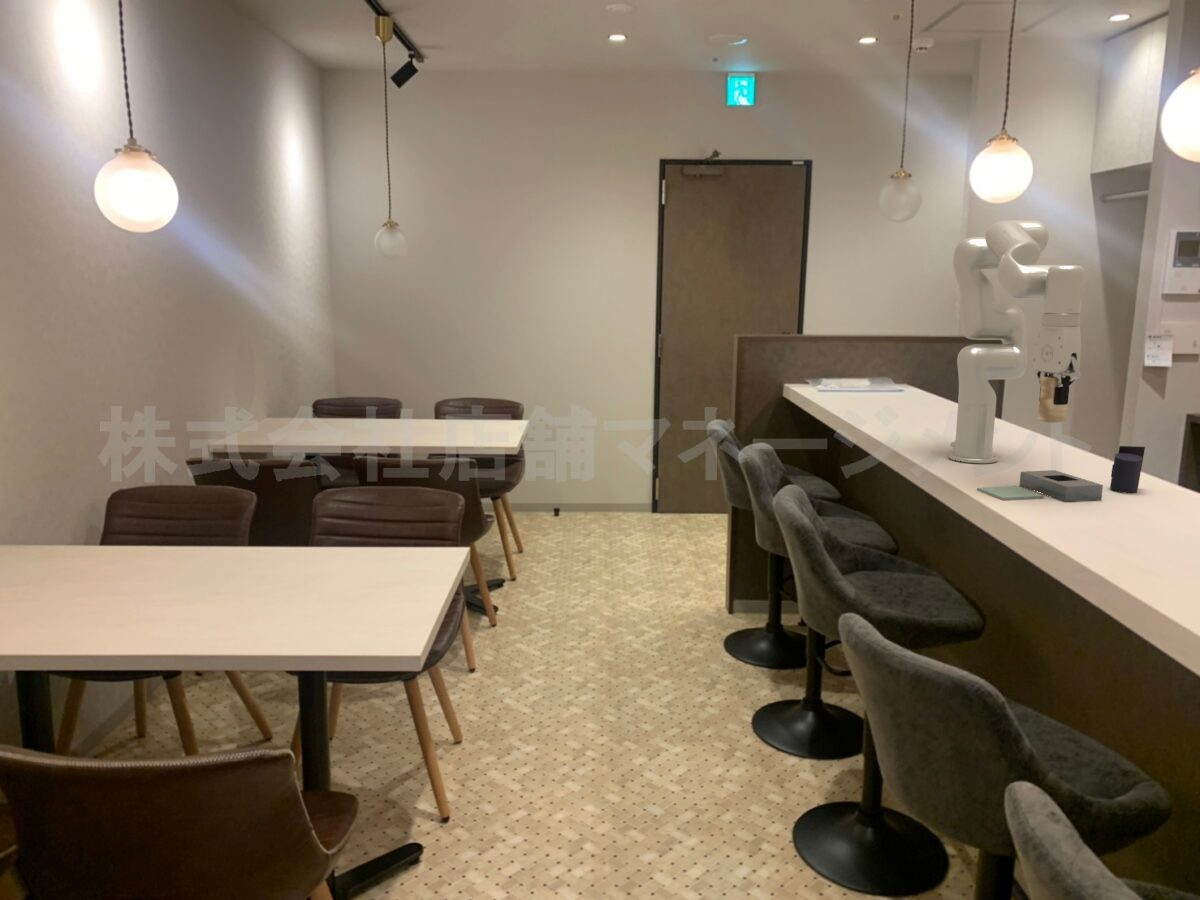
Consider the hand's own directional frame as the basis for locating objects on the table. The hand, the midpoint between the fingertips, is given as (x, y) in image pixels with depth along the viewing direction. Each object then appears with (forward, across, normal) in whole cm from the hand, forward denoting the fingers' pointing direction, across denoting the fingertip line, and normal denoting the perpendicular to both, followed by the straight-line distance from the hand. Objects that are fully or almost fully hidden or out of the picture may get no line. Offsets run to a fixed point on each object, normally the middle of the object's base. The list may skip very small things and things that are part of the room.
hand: (1053, 402), depth 198 cm
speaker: (+21, +2, +20) cm, 30 cm away
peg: (+4, 0, 0) cm, 4 cm away
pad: (+21, -1, -8) cm, 23 cm away
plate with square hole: (+21, 0, +3) cm, 22 cm away
